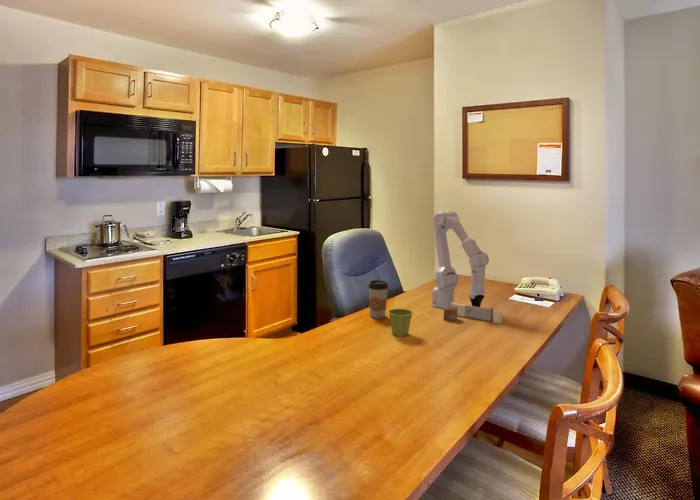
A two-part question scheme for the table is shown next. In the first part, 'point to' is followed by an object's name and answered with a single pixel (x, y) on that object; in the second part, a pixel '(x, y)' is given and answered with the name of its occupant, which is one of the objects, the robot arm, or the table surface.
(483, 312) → the door
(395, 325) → the plant pot
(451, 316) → the block
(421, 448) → the table surface
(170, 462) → the table surface
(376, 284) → the coffee cup
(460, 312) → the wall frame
